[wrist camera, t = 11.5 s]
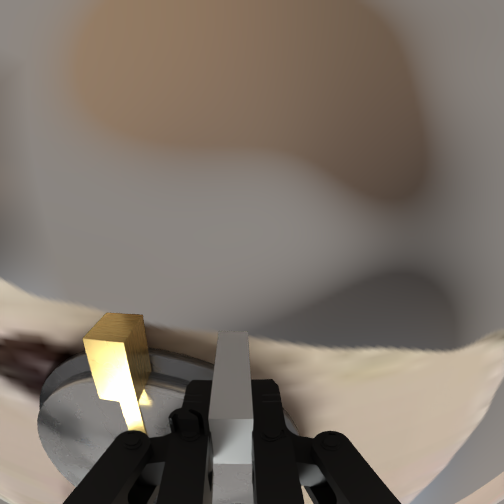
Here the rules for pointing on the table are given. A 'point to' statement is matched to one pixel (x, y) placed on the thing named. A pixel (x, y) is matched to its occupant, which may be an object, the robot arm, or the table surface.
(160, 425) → the turntable
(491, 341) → the table surface
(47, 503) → the table surface
